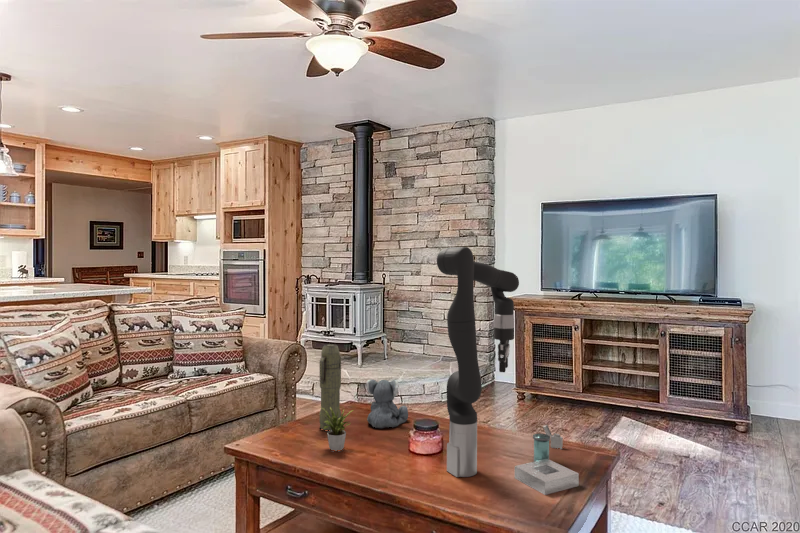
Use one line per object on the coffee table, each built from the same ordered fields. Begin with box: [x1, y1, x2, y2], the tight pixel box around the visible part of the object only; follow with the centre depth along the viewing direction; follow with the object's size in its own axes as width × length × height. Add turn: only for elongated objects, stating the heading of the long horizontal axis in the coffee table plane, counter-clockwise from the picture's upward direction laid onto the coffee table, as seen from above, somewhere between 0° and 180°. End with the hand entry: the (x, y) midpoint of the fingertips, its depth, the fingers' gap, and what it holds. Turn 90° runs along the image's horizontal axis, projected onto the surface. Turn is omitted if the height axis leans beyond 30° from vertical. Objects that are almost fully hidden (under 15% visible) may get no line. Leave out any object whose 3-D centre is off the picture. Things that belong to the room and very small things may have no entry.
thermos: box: [319, 343, 342, 430], centre depth 225 cm, size 9×12×35 cm
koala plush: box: [365, 379, 409, 429], centre depth 231 cm, size 17×18×20 cm
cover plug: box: [532, 432, 551, 462], centre depth 189 cm, size 6×6×9 cm
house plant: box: [319, 407, 354, 451], centre depth 200 cm, size 14×14×16 cm
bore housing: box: [514, 458, 580, 496], centre depth 172 cm, size 14×14×4 cm
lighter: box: [542, 424, 564, 450], centre depth 204 cm, size 7×2×8 cm, turn 59°
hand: (503, 369), depth 200 cm, fingers open, 8 cm apart
